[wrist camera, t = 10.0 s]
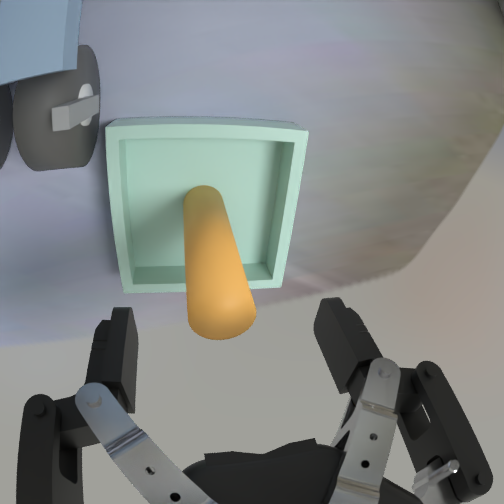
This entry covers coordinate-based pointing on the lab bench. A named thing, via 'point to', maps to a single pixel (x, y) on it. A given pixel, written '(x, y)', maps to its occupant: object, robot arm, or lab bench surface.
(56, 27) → the trolley
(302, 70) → the lab bench surface
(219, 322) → the pin
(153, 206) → the tray
